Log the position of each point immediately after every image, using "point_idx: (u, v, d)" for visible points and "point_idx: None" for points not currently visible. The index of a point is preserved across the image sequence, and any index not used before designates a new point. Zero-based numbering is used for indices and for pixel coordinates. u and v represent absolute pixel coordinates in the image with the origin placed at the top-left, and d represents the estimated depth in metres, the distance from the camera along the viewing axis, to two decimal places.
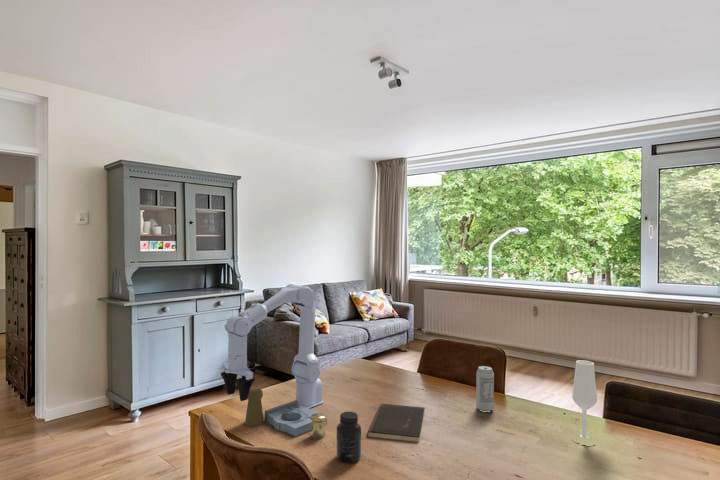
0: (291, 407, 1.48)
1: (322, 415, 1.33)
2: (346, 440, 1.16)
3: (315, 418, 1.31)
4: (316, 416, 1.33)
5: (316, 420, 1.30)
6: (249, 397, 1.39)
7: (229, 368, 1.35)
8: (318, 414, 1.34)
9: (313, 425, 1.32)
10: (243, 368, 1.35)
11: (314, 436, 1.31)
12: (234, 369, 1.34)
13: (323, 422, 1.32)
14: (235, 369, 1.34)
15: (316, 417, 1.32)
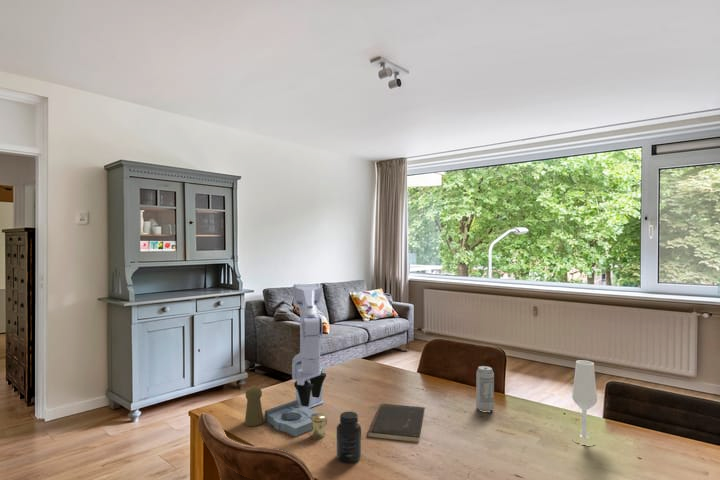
0: (291, 407, 1.48)
1: (322, 415, 1.33)
2: (346, 440, 1.16)
3: (315, 418, 1.31)
4: (316, 416, 1.33)
5: (316, 420, 1.30)
6: (248, 397, 1.40)
7: None
8: (318, 414, 1.34)
9: (313, 425, 1.32)
10: (307, 373, 1.30)
11: (314, 436, 1.31)
12: (301, 371, 1.32)
13: (323, 422, 1.32)
14: (302, 371, 1.32)
15: (316, 417, 1.32)
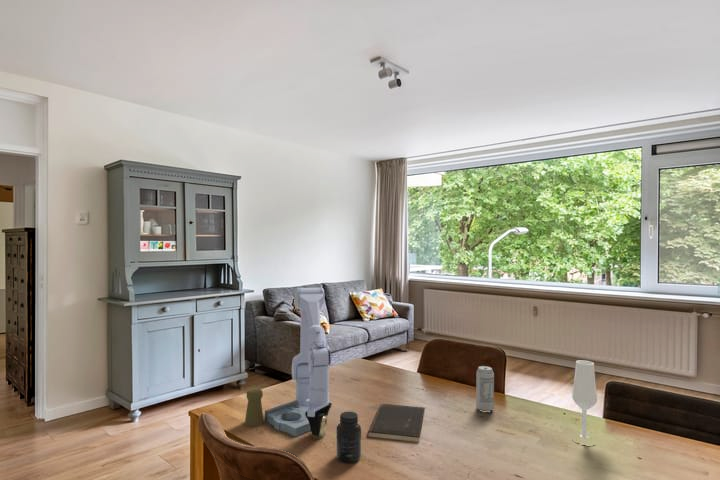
0: (291, 407, 1.48)
1: None
2: (346, 440, 1.16)
3: None
4: None
5: None
6: (249, 397, 1.39)
7: None
8: None
9: None
10: (317, 403, 1.30)
11: (314, 436, 1.31)
12: (310, 401, 1.32)
13: (323, 422, 1.32)
14: (310, 401, 1.31)
15: None
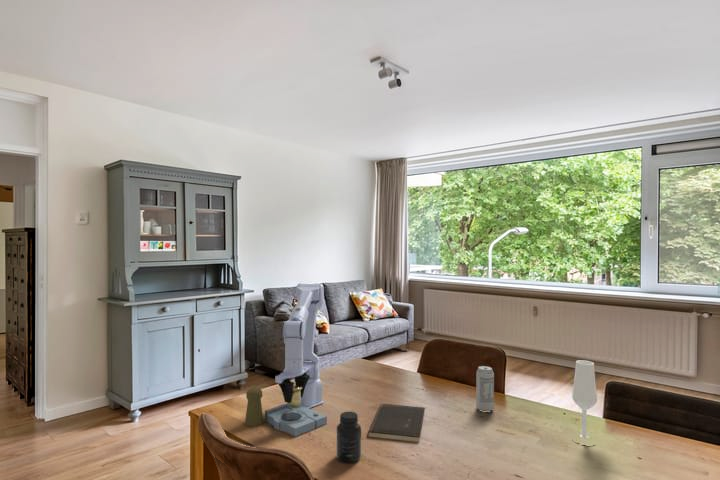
0: None
1: (298, 386, 1.40)
2: (346, 440, 1.16)
3: None
4: None
5: None
6: (249, 397, 1.39)
7: None
8: (296, 386, 1.41)
9: None
10: (288, 372, 1.37)
11: (288, 405, 1.38)
12: (285, 370, 1.40)
13: (296, 392, 1.38)
14: (285, 370, 1.39)
15: None
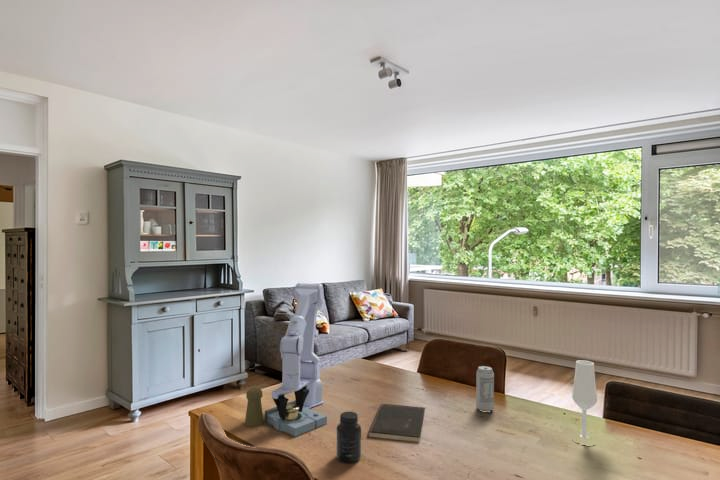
0: None
1: (295, 407, 1.40)
2: (346, 440, 1.16)
3: (286, 408, 1.39)
4: (289, 406, 1.40)
5: (286, 410, 1.38)
6: (249, 397, 1.39)
7: None
8: (293, 405, 1.41)
9: None
10: (285, 387, 1.38)
11: None
12: None
13: (293, 413, 1.38)
14: (282, 385, 1.40)
15: (288, 407, 1.39)
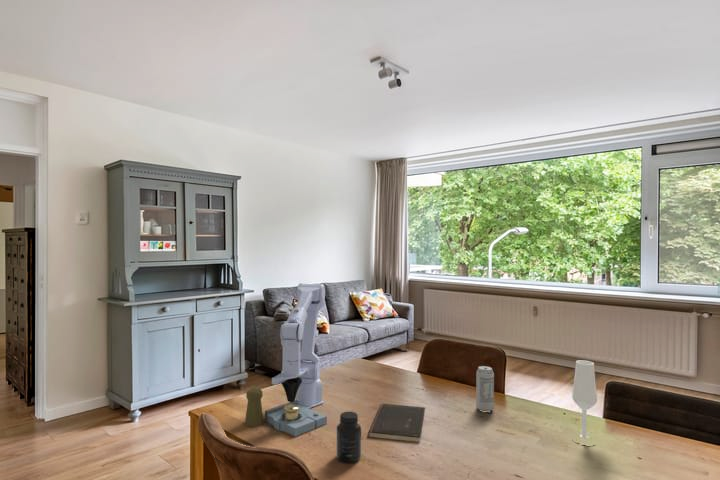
0: None
1: (295, 407, 1.40)
2: (346, 440, 1.16)
3: (286, 408, 1.39)
4: (289, 406, 1.40)
5: (286, 410, 1.38)
6: (249, 397, 1.39)
7: None
8: (293, 405, 1.41)
9: (285, 414, 1.39)
10: (285, 374, 1.38)
11: None
12: (282, 371, 1.41)
13: (293, 413, 1.38)
14: (282, 372, 1.40)
15: (288, 407, 1.39)
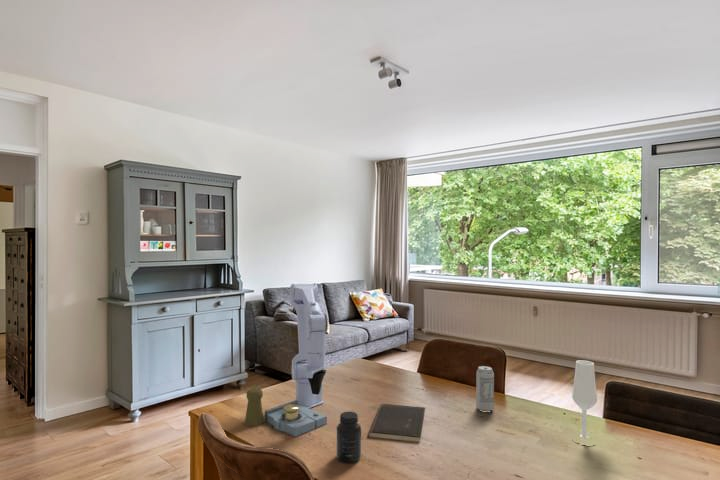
0: None
1: (295, 407, 1.40)
2: (346, 440, 1.16)
3: (286, 408, 1.39)
4: (289, 406, 1.40)
5: (286, 410, 1.38)
6: (249, 397, 1.39)
7: None
8: (293, 405, 1.41)
9: (285, 414, 1.39)
10: (314, 366, 1.37)
11: None
12: (308, 365, 1.38)
13: (293, 413, 1.38)
14: (308, 365, 1.38)
15: (288, 407, 1.39)
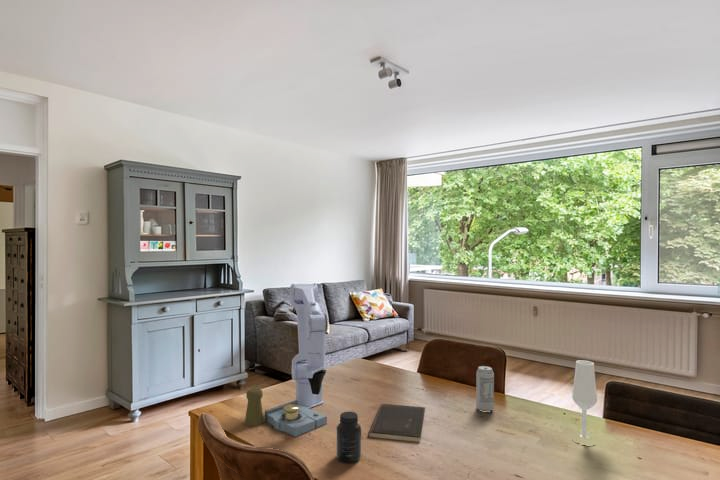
0: None
1: (295, 407, 1.40)
2: (346, 440, 1.16)
3: (286, 408, 1.39)
4: (289, 406, 1.40)
5: (286, 410, 1.38)
6: (249, 397, 1.39)
7: None
8: (293, 405, 1.41)
9: (285, 414, 1.39)
10: (314, 366, 1.37)
11: None
12: (308, 365, 1.38)
13: (293, 413, 1.38)
14: (308, 365, 1.38)
15: (288, 407, 1.39)
